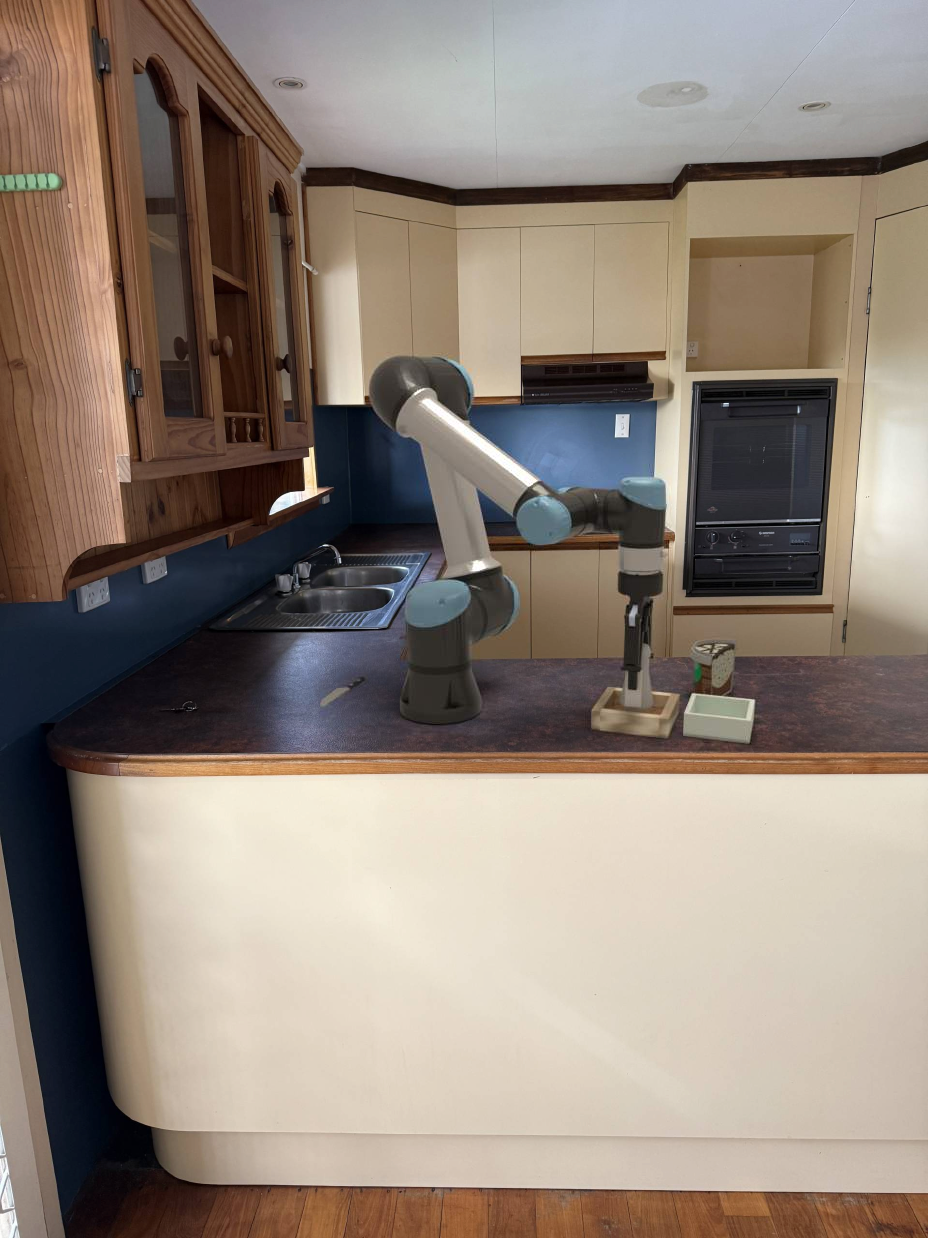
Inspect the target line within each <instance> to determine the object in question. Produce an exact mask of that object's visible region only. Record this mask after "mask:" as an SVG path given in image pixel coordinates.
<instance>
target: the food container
mask: <svg viewBox="0 0 928 1238" xmlns="http://www.w3.org/2000/svg"><path fill="white" fill-rule="evenodd" d="M737 648H738V645H737V639H731V638H729V639H728V638H709V639H703V640H698V641H696V642H694V644H693V645H692V647H691V650H690V654H689V657H690V658H691V660H693V677H694V679H693V680H694V681H693V683H694V688H693V689H694V693H695V694H705V695H714V696H724V697H726V695H728V694H729V693H731V692H732V691H733V690H732V689H733V677H734V667H735V661H736V659H735V658H736V651H737V650H738V649H737Z"/></svg>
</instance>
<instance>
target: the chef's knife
mask: <svg viewBox="0 0 928 1238" xmlns="http://www.w3.org/2000/svg"><path fill="white" fill-rule="evenodd" d="M365 679H366V677H365V676H359V677H358V678H357V679H356V680H355V681H354V682H352V683H350V684H348V685H347V686H345V687H337V688H335V689H334V690H333V691H332V692H330V693H328V694H327V695H326V696H325V697H324V698H322V699H321V701H320V704H319V706H320V707H325V706H326V705H328V704H330V703H331V702H333V701H335V700H336V699H337V698H339V697H341V696H342V695H344V694H345V693H347V692H348V691H350V690H352V689H353V688H354V687H356V686H358V685H359V684H361V683H362V682H363V681H365Z"/></svg>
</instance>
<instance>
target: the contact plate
mask: <svg viewBox="0 0 928 1238" xmlns="http://www.w3.org/2000/svg"><path fill="white" fill-rule="evenodd" d="M612 710H620V711H623V710H622V708H621V705H620V704H617V703H615V705H614V706H613V708H612ZM662 712H663V709H662V708H653V707H652V709H651V711H650V713H649V714H655V715H661V714H662Z"/></svg>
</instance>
